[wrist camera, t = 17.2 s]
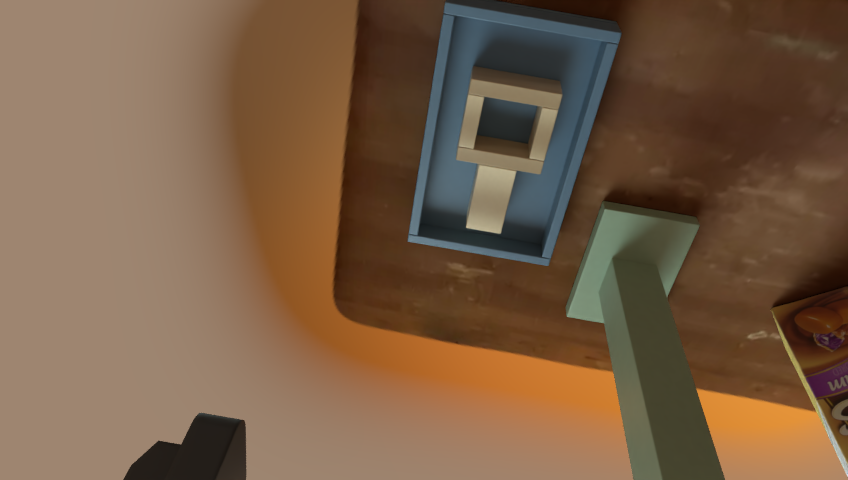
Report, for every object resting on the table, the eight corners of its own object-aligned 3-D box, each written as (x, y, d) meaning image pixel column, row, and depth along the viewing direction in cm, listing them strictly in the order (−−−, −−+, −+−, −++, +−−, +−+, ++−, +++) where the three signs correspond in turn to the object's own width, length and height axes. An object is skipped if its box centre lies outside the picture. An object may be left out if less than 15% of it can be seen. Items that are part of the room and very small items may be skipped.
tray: (447, -9, 36) (445, 1, 34) (616, 21, 36) (622, 32, 34) (410, 224, 45) (407, 241, 43) (546, 248, 45) (548, 266, 43)
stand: (602, 200, 42) (775, 918, 15) (696, 216, 42) (1030, 963, 15) (565, 307, 47) (646, 986, 21) (648, 322, 47) (838, 1020, 21)
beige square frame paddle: (472, 65, 38) (471, 78, 36) (560, 80, 38) (562, 94, 36) (445, 207, 43) (443, 224, 41) (522, 220, 43) (523, 238, 41)
